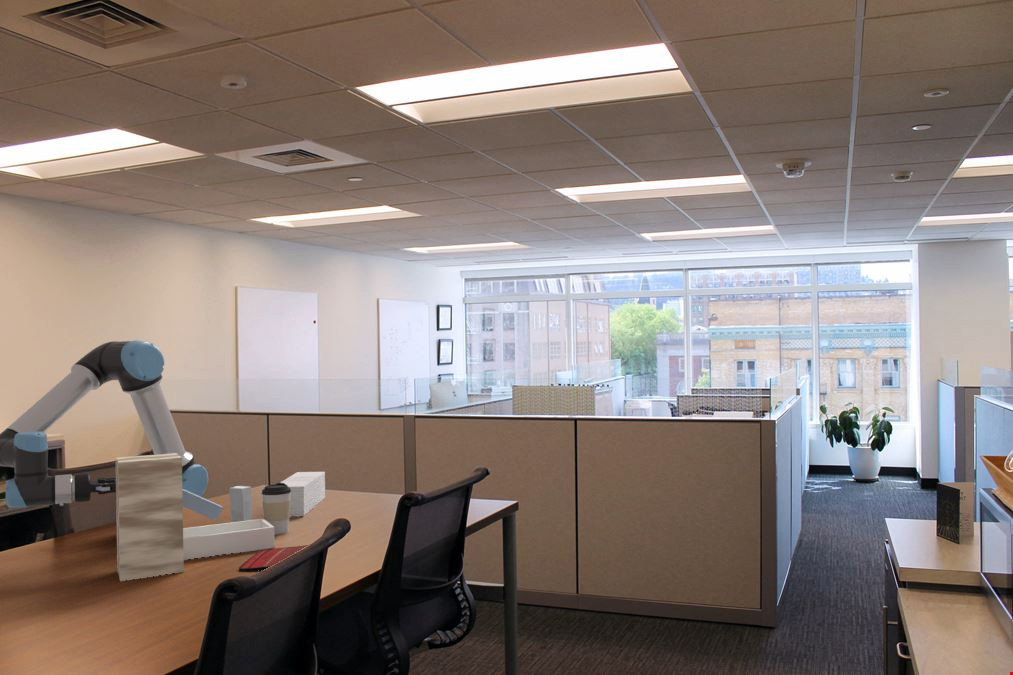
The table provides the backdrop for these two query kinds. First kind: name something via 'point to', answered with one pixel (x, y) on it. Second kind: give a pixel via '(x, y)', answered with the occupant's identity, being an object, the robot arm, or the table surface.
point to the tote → (227, 538)
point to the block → (201, 505)
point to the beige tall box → (149, 516)
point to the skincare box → (240, 503)
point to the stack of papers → (305, 491)
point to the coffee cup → (277, 506)
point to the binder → (268, 558)
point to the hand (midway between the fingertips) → (167, 480)
